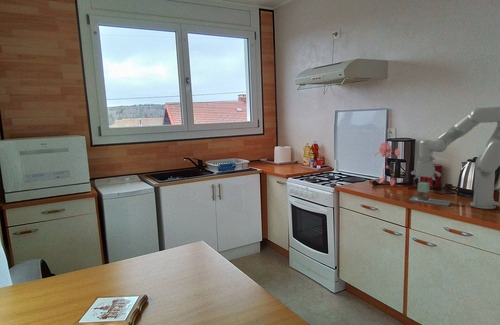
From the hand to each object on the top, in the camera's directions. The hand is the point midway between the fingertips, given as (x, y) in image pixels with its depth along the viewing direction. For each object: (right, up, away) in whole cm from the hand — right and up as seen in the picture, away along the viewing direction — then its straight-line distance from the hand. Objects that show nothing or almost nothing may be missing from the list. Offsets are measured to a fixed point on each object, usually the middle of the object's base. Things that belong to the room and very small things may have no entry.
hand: (425, 185), depth 207 cm
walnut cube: (-1, -9, +1) cm, 9 cm away
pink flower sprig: (-6, -4, +49) cm, 50 cm away
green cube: (-1, -4, 0) cm, 4 cm away
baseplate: (+2, -11, -1) cm, 11 cm away
